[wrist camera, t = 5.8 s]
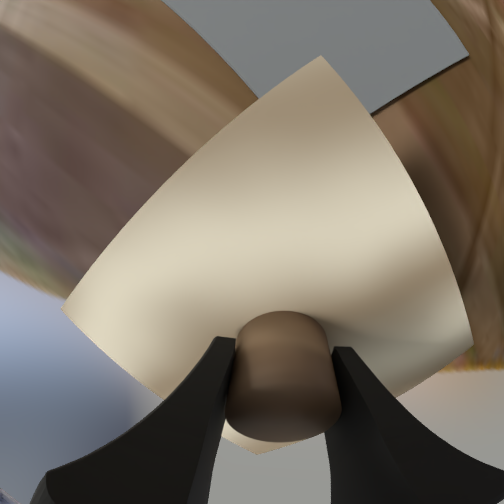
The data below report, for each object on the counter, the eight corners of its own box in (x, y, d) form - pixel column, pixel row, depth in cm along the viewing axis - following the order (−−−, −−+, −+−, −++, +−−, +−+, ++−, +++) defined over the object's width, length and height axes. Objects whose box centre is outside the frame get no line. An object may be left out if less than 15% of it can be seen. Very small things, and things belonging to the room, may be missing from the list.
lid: (466, 333, 10) (503, 387, 6) (257, 443, 14) (254, 497, 10) (316, 62, 6) (350, 10, 3) (70, 299, 10) (20, 351, 7)
